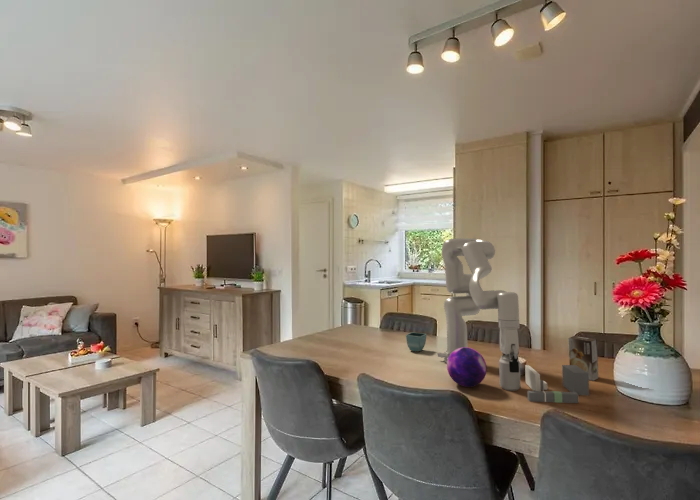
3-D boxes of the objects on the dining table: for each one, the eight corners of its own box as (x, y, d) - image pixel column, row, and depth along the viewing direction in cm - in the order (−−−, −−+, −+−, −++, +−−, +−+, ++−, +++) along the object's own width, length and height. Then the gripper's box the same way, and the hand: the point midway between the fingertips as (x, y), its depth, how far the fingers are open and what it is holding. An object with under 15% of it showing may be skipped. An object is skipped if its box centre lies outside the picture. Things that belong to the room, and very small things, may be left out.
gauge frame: (529, 401, 130) (528, 378, 130) (514, 383, 148) (513, 363, 148) (600, 404, 127) (600, 380, 127) (576, 385, 144) (575, 365, 145)
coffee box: (599, 377, 153) (598, 339, 154) (593, 381, 150) (592, 341, 150) (575, 372, 161) (574, 335, 161) (568, 375, 157) (567, 337, 157)
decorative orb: (452, 377, 157) (452, 341, 157) (490, 383, 149) (489, 345, 150) (442, 388, 144) (441, 349, 144) (482, 395, 136) (482, 354, 137)
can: (522, 392, 139) (522, 359, 139) (501, 391, 140) (501, 359, 141) (518, 385, 146) (517, 354, 147) (498, 384, 148) (497, 354, 148)
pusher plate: (540, 398, 132) (539, 378, 132) (525, 382, 148) (525, 365, 148) (556, 398, 131) (556, 378, 131) (540, 383, 147) (539, 365, 148)
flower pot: (427, 349, 204) (426, 333, 204) (421, 353, 197) (420, 336, 197) (412, 348, 209) (411, 332, 209) (405, 351, 201) (405, 334, 202)
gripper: (493, 320, 153) (495, 362, 152) (504, 327, 136) (506, 375, 135) (512, 320, 152) (514, 363, 151) (526, 327, 135) (528, 375, 134)
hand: (510, 368), depth 143 cm, fingers open, 9 cm apart
